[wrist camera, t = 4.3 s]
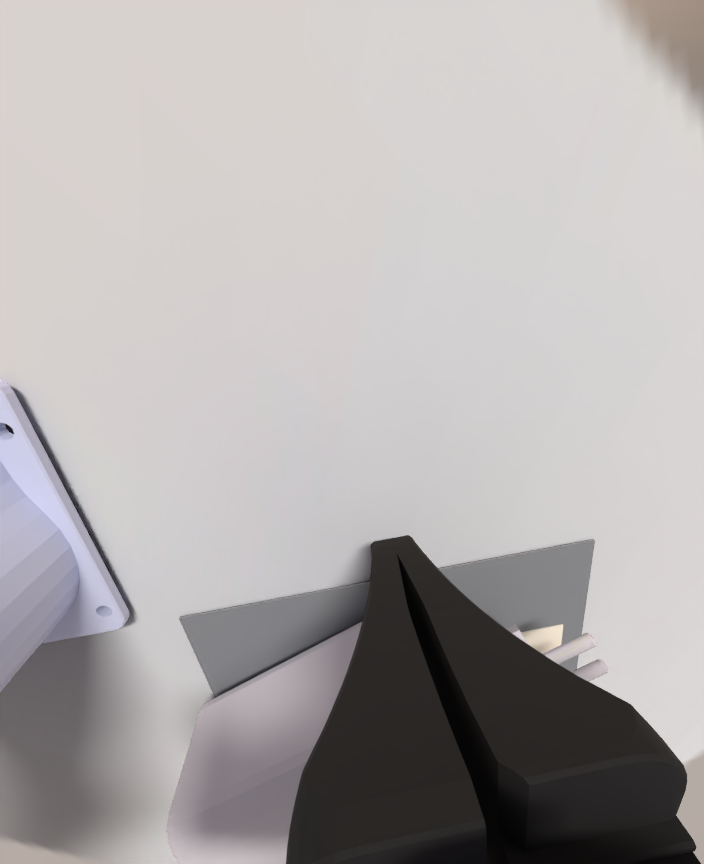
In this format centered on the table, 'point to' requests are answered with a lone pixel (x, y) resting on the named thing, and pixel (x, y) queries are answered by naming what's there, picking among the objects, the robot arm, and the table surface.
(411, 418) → the table surface
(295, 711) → the charger
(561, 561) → the label mat
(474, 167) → the table surface
